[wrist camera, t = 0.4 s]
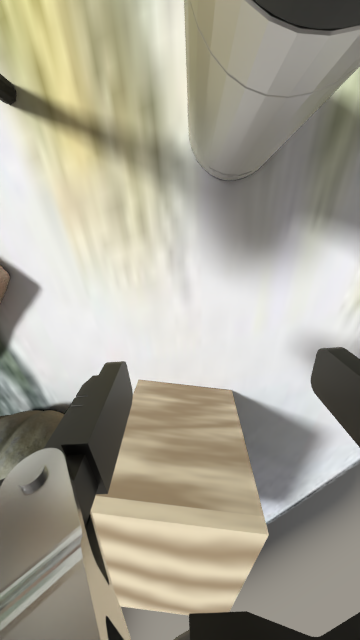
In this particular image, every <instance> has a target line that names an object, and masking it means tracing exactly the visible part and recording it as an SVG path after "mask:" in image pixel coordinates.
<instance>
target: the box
mask: <svg viewBox="0 0 360 640" xmlns="http://www.w3.org/2000/svg"><path fill="white" fill-rule="evenodd" d="M91 512H92V516H93V519H94V522H95V526H96V529H97V533H98V536H99V540H100V543H101V547H102V550H103V554H104V557H105V561H106V564H107V568H108V571H109V575H110V578H111V581H112V585H113V588H114V591H115V594H116V597H117V599H118V602H119V604H120V606H122V607H130V608H137V609H145V610H152V611H160V612H168V613H175V614H183V615H189V614H191V613H218V612H229V611H230V609H231V607H232V605H233V603H234V602H235V600H236V598H237V596H238V593H239V592H240V590H241V588H242V586H243V584H244V582H245V580H246V578H247V576H248V574H249V572H250V570H251V568H252V566H253V564H254V562H255V561H256V559H257V557H258V554H259V553H260V551H261V549H262V547H263V545H264V543H265V541H266V539H267V537H268V535H269V534H268V531H267V526H266V523H265V519H264V515H263V511H262V507H261V503H260V499H259V495H258V491H257V487H256V483H255V480H254V476H253V472H252V468H251V464H250V460H249V456H248V452H247V448H246V444H245V440H244V436H243V433H242V429H241V425H240V421H239V417H238V413H237V409H236V405H235V401H234V397H233V393H232V390H224V389H216V388H207V387H198V386H189V385H180V384H172V383H163V382H154V381H145V380H138V383H137V386H136V388H135V391H134V394H133V399H132V406H131V409H130V413H129V417H128V421H127V424H126V428H125V432H124V436H123V439H122V443H121V447H120V450H119V454H118V458H117V462H116V465H115V469H114V473H113V477H112V480H111V484H110V488H109V492H108V494H96V495H95V499H94V502H93V505H92V508H91Z"/></svg>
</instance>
